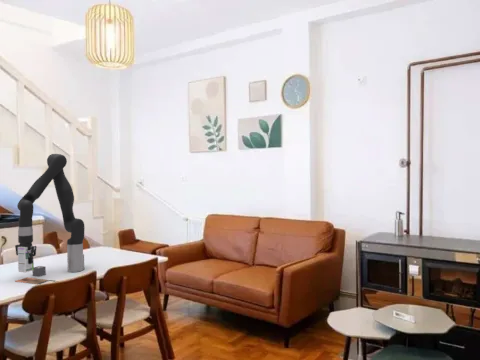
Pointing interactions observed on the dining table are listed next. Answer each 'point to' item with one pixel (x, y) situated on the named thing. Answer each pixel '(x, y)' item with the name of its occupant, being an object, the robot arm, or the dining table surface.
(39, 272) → the die
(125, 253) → the dining table surface
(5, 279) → the dining table surface
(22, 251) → the syrup box
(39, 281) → the flat rectangular plate
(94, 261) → the dining table surface
